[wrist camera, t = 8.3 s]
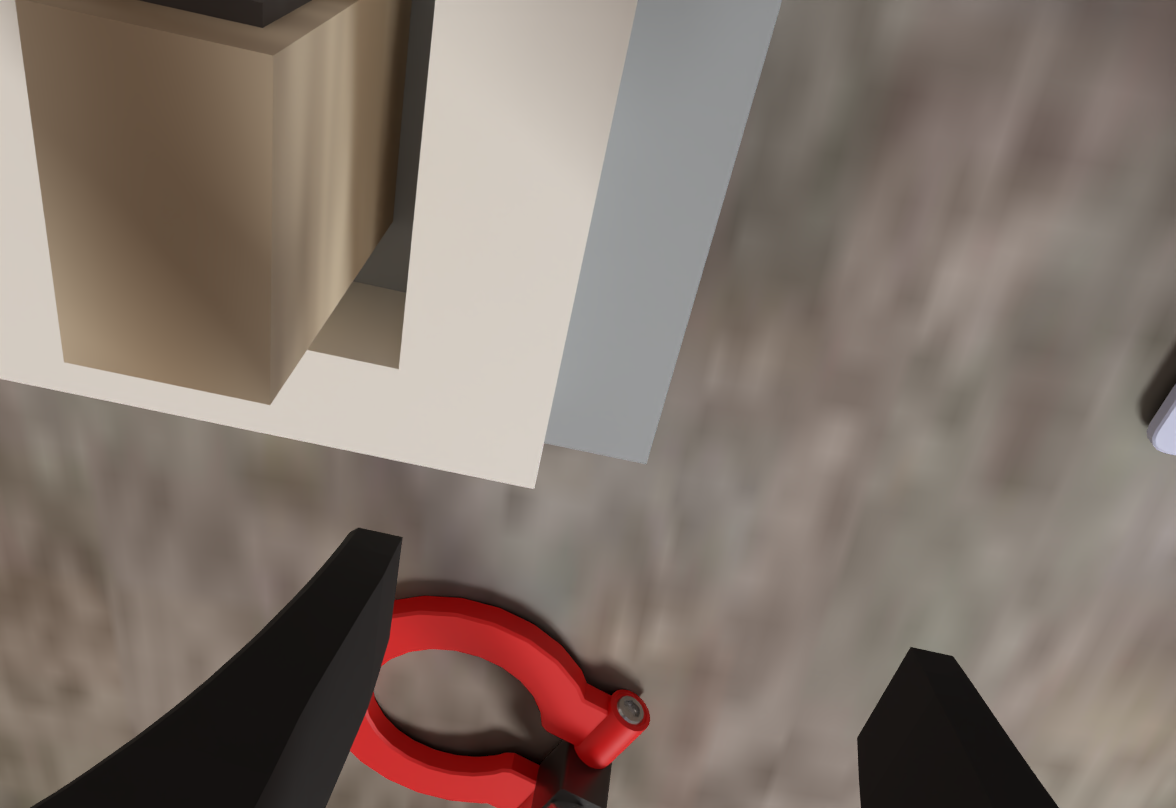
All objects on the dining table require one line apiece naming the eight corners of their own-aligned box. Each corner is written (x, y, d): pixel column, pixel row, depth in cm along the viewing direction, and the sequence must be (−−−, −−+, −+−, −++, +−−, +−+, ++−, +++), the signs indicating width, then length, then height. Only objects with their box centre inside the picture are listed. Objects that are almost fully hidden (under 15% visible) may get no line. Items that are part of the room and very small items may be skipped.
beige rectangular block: (416, -55, 17) (273, 29, 11) (392, 221, 19) (269, 405, 14) (248, -93, 16) (11, -30, 11) (249, 190, 19) (63, 361, 14)
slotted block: (840, -230, 16) (885, -236, 12) (647, 439, 23) (641, 548, 20) (-135, -464, 15) (-370, -539, 12) (-1, 304, 23) (-118, 392, 19)
